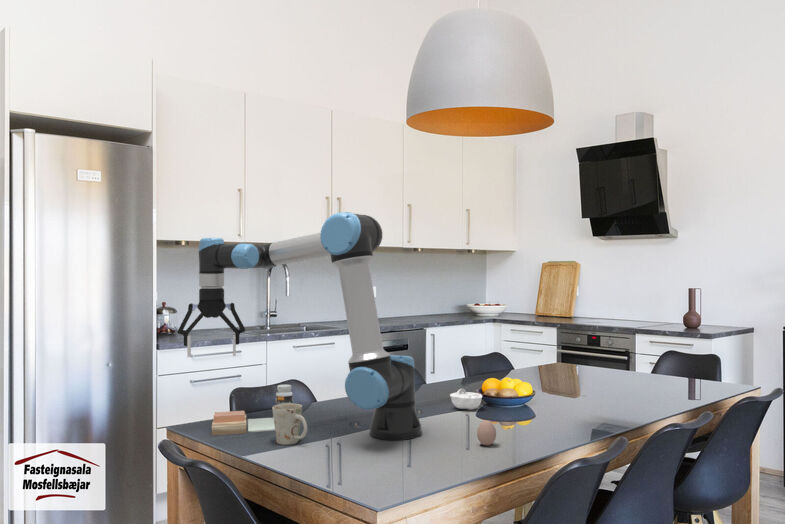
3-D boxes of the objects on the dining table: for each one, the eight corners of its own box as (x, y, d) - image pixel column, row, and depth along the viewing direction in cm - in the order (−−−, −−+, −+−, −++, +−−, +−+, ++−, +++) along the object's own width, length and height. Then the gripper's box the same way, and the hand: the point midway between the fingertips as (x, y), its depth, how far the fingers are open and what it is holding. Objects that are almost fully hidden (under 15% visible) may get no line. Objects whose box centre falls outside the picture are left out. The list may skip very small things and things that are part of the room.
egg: (473, 445, 180) (473, 420, 180) (485, 441, 184) (484, 417, 184) (488, 449, 177) (488, 423, 177) (500, 445, 180) (499, 420, 180)
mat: (288, 429, 201) (288, 428, 201) (248, 432, 198) (248, 431, 198) (285, 418, 217) (285, 416, 217) (247, 420, 214) (247, 419, 214)
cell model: (469, 414, 219) (468, 393, 219) (443, 408, 228) (443, 388, 228) (489, 409, 225) (489, 389, 225) (464, 404, 234) (464, 385, 234)
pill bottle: (276, 418, 217) (276, 387, 217) (275, 414, 223) (274, 384, 223) (294, 416, 219) (293, 386, 219) (292, 413, 224) (291, 383, 224)
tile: (244, 416, 208) (244, 410, 208) (244, 421, 202) (244, 414, 202) (214, 418, 206) (214, 412, 206) (214, 423, 200) (214, 416, 200)
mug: (288, 436, 193) (288, 402, 193) (319, 443, 185) (318, 407, 185) (266, 442, 186) (266, 407, 186) (297, 450, 178) (296, 412, 178)
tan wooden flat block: (246, 433, 197) (246, 424, 197) (211, 435, 195) (211, 427, 195) (246, 421, 213) (246, 413, 213) (213, 423, 211) (213, 415, 211)
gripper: (252, 286, 213) (253, 353, 212) (171, 287, 208) (171, 355, 207) (252, 287, 205) (252, 356, 205) (168, 288, 200) (168, 358, 200)
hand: (211, 356), depth 206 cm, fingers open, 13 cm apart
